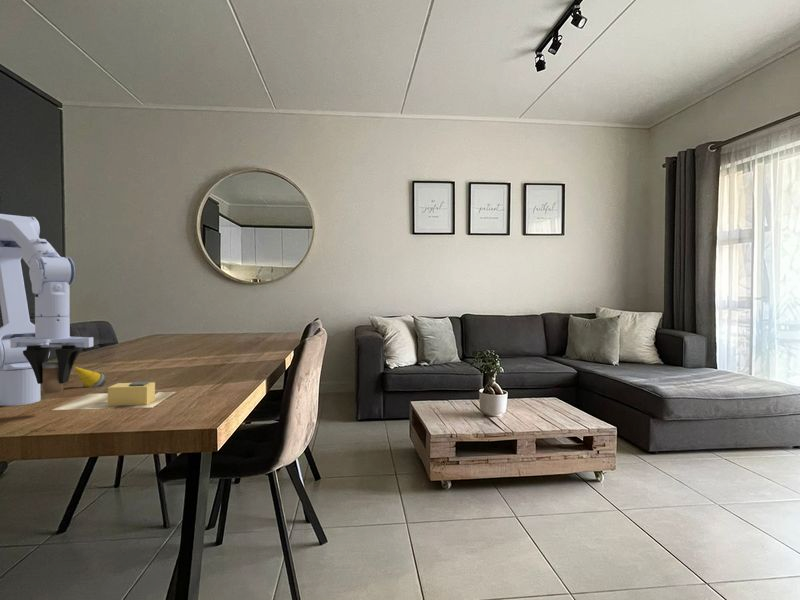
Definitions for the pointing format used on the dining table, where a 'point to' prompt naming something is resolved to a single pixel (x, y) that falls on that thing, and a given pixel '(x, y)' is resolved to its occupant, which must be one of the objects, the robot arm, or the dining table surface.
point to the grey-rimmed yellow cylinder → (90, 378)
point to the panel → (102, 402)
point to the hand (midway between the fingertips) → (53, 382)
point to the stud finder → (131, 393)
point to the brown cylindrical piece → (51, 377)
